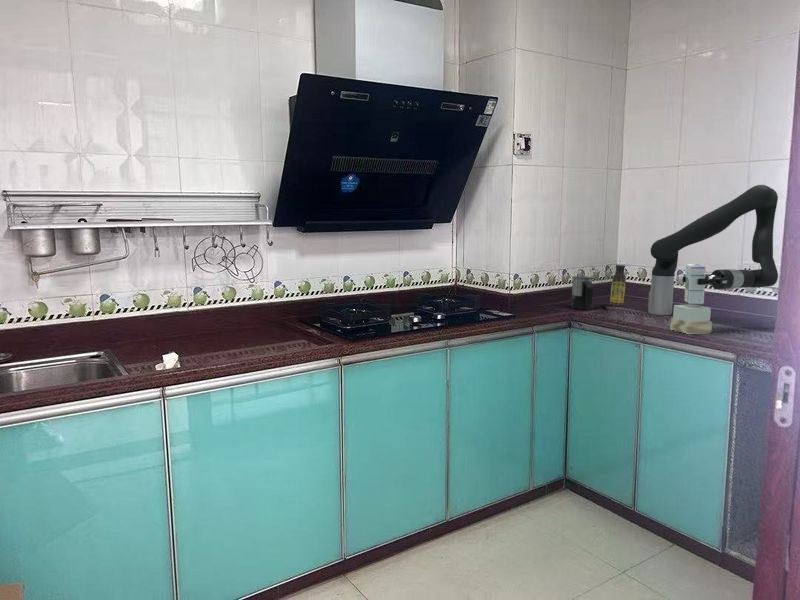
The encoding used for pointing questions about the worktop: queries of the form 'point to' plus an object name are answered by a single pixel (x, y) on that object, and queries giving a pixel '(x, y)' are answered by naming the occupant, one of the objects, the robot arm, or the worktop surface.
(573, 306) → the milk frother
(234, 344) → the worktop surface
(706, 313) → the top block
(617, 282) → the sauce bottle
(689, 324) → the bottom block
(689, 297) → the syrup box
